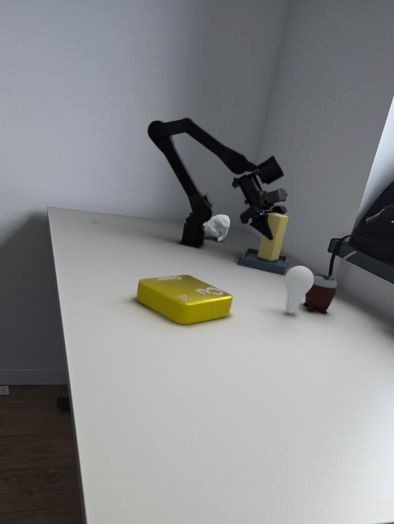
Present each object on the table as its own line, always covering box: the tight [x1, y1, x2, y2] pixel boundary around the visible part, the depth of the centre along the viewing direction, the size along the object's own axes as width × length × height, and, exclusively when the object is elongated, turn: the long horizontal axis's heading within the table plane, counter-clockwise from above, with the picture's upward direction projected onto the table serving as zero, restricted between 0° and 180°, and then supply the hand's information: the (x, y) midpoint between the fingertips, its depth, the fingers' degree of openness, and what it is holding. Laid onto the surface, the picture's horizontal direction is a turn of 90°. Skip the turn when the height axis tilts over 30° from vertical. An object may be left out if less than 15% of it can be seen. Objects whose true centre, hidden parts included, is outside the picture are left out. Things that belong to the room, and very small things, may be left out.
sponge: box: [257, 213, 289, 263], centre depth 148 cm, size 5×5×14 cm
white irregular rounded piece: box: [203, 214, 231, 242], centre depth 169 cm, size 6×8×12 cm
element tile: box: [135, 274, 233, 325], centre depth 101 cm, size 15×15×5 cm
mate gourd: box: [303, 250, 357, 315], centre depth 114 cm, size 8×8×15 cm
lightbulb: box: [284, 265, 314, 315], centre depth 109 cm, size 6×6×11 cm
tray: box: [239, 247, 289, 276], centre depth 149 cm, size 13×15×2 cm
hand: (276, 239), depth 147 cm, fingers closed on sponge, 5 cm apart
